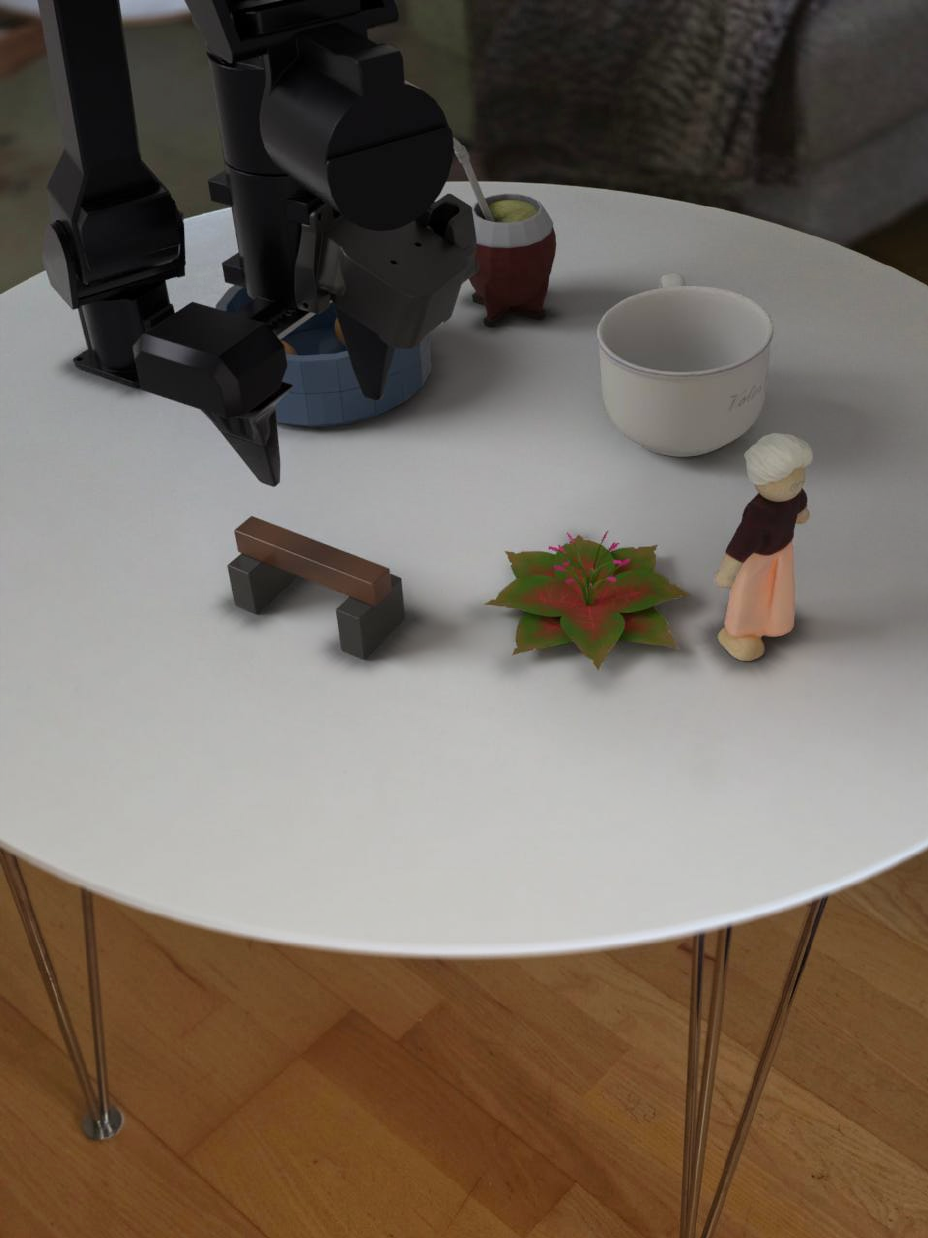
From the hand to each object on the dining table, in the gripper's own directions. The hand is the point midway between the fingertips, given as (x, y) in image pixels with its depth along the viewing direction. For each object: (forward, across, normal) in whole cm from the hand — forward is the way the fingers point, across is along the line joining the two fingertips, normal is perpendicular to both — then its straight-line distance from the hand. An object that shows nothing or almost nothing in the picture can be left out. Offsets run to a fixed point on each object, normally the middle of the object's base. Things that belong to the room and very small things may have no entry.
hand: (323, 438), depth 72 cm
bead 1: (+8, +16, +17) cm, 25 cm away
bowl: (+10, +19, +15) cm, 26 cm away
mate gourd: (+11, +33, +9) cm, 36 cm away
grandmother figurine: (+11, +9, -22) cm, 26 cm away
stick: (+8, -2, 0) cm, 8 cm away
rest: (+10, -2, 0) cm, 11 cm away
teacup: (+11, +26, -9) cm, 29 cm away
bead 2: (+8, +22, +15) cm, 28 cm away
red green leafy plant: (+11, +6, -13) cm, 18 cm away
